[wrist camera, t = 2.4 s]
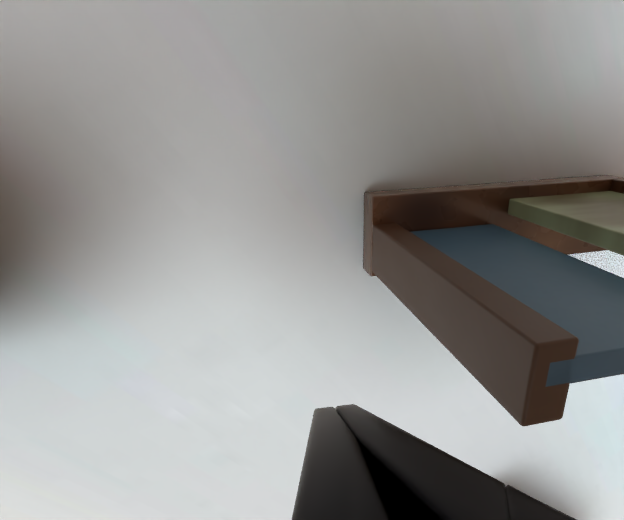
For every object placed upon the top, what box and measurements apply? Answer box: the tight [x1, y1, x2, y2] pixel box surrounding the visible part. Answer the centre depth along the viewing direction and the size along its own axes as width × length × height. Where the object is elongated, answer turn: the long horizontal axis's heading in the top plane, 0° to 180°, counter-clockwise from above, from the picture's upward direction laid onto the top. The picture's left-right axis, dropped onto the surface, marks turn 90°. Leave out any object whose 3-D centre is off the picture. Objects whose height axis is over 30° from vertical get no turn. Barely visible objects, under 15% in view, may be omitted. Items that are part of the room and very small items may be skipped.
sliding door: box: [372, 223, 624, 426], centre depth 16 cm, size 6×2×11 cm, turn 91°
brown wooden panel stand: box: [363, 175, 624, 276], centre depth 17 cm, size 14×4×13 cm, turn 91°
